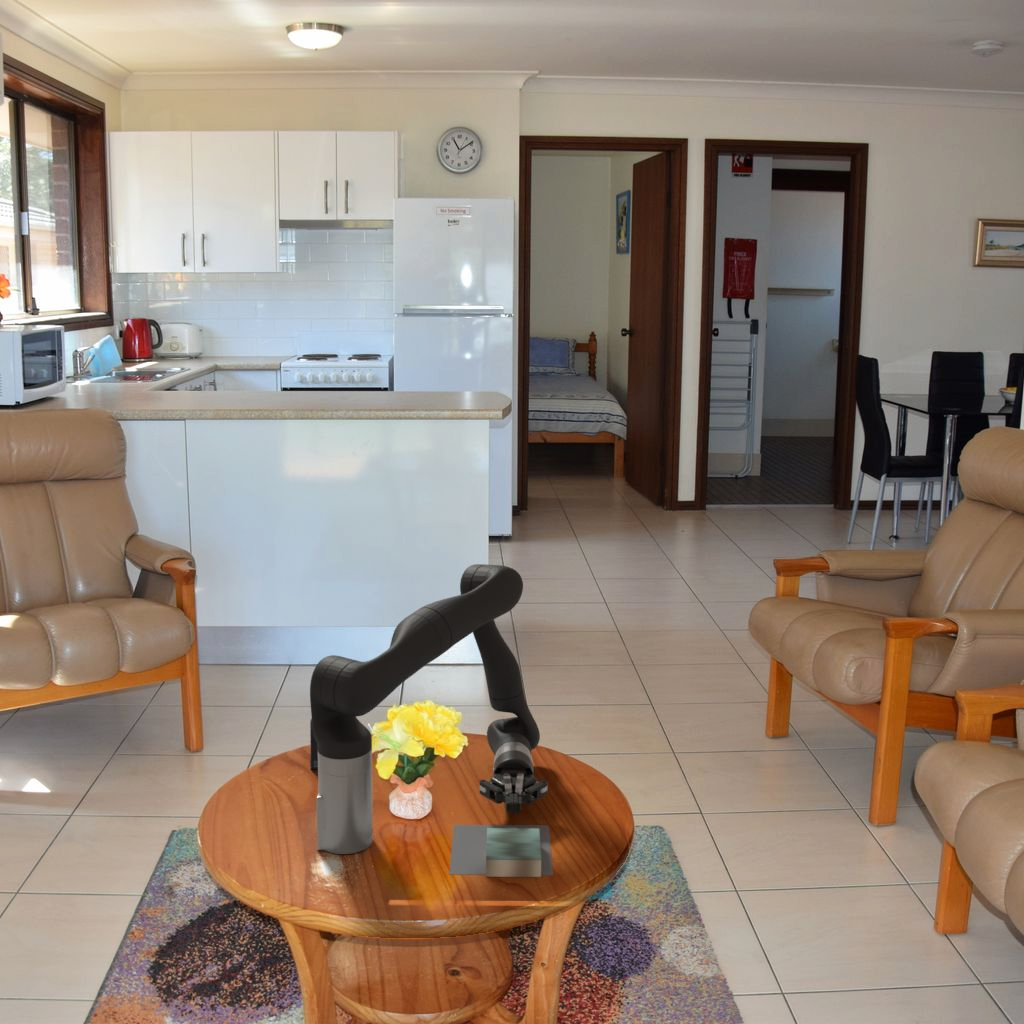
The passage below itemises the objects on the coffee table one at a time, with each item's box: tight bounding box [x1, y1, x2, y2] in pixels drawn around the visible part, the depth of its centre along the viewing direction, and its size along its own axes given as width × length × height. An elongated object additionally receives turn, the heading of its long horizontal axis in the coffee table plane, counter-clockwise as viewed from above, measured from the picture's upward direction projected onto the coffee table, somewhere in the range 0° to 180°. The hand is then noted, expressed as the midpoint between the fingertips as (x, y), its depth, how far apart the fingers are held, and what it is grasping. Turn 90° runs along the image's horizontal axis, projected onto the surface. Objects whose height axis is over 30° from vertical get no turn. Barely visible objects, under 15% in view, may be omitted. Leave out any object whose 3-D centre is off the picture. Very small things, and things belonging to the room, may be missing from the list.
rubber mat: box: [448, 824, 554, 877], centre depth 200 cm, size 17×18×1 cm
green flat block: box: [485, 828, 542, 878], centre depth 196 cm, size 9×3×11 cm
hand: (513, 808), depth 203 cm, fingers closed
